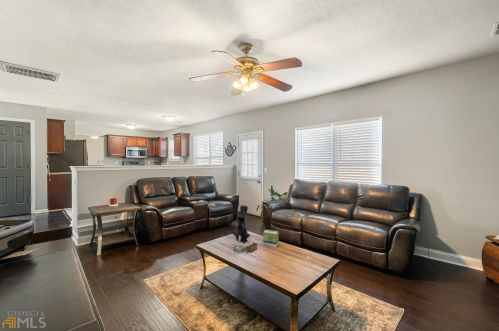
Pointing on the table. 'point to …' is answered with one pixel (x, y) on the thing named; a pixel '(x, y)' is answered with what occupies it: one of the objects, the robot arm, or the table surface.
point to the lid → (240, 247)
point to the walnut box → (251, 248)
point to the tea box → (270, 238)
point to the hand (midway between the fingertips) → (241, 242)
